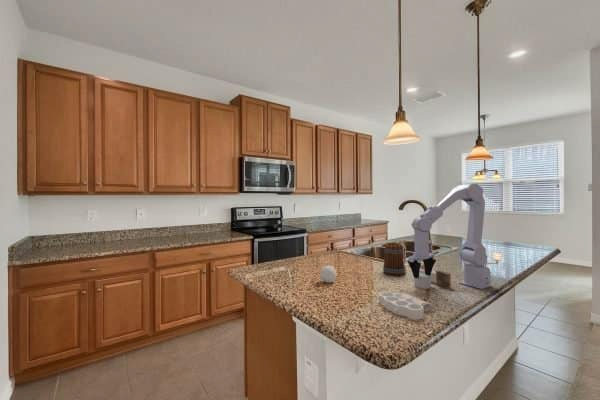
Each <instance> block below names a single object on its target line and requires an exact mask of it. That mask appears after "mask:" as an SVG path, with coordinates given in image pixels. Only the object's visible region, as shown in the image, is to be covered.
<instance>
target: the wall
mask: <svg viewBox="0 0 600 400" xmlns="http://www.w3.org/2000/svg"><path fill="white" fill-rule="evenodd" d="M435 273H436V282H435V283H436V286H439V287H442V288H445V289H451V283H452V282H451V275H452V273H450V272H446V271H442V270H440V269H439V270H435Z"/></svg>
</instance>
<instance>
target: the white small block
mask: <svg viewBox="0 0 600 400" xmlns="http://www.w3.org/2000/svg"><path fill="white" fill-rule="evenodd" d="M413 279H414V280H413V281H414V282H413V283H414V284H413V285H414V287H416V288H420V289H423V290H426V289H431V284H432V283H431V282H432V281H431V278H430V276H428V275H425V274H421V273H419V278H414V277H413Z"/></svg>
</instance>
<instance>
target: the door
mask: <svg viewBox="0 0 600 400" xmlns="http://www.w3.org/2000/svg"><path fill="white" fill-rule="evenodd" d="M419 273H421V274H425V269H422V268H420V270H419ZM430 278H431V282H433V283H436V271H432V272H431V275H430Z"/></svg>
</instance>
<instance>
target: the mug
mask: <svg viewBox="0 0 600 400" xmlns="http://www.w3.org/2000/svg"><path fill="white" fill-rule="evenodd" d="M383 250H384V251H383V252H384V254H383V255H384V256H383V257H384V258H383V266H382V267H383V268H382V270H383V273H384V274H386V275H388V276H394V277H395V276H396V277H397V276H398V277H400V276H403V275H405V273H406V267H405V262H404V249H403V244H402V243H401V242H398V241H395V242H386V243H385V244H384V249H383Z"/></svg>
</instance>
